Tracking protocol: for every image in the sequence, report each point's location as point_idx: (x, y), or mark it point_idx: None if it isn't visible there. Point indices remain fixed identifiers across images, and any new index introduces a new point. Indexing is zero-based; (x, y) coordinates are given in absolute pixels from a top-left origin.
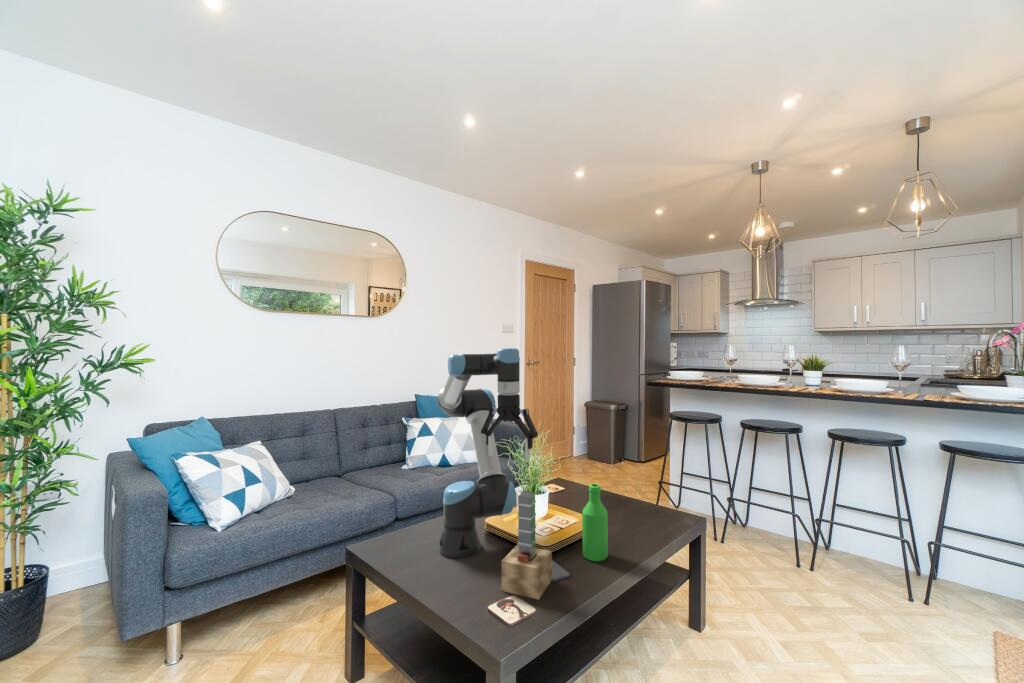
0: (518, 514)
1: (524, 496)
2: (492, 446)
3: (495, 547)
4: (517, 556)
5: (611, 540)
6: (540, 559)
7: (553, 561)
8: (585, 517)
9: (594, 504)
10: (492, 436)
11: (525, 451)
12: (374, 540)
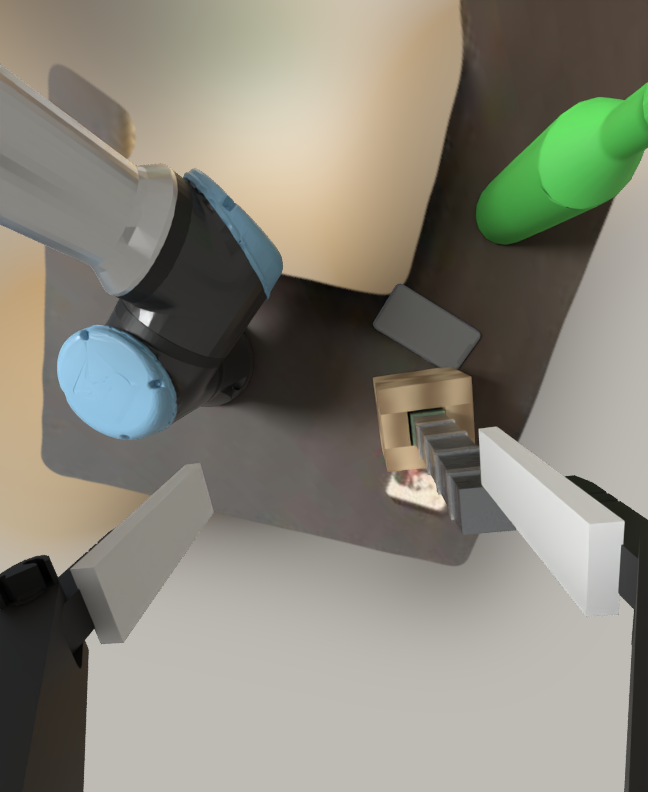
0: (442, 495)
1: (488, 529)
2: (175, 518)
3: (269, 309)
4: (408, 438)
5: (524, 76)
6: (463, 425)
7: (424, 300)
8: (554, 208)
9: (625, 162)
10: (112, 587)
11: (514, 520)
12: (43, 425)
